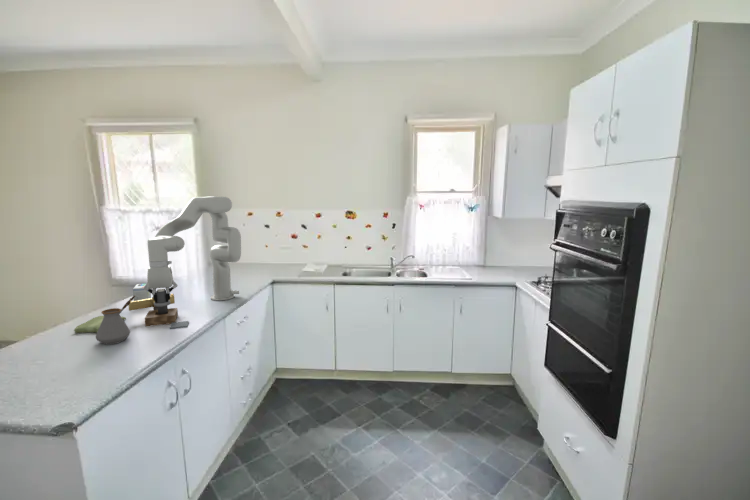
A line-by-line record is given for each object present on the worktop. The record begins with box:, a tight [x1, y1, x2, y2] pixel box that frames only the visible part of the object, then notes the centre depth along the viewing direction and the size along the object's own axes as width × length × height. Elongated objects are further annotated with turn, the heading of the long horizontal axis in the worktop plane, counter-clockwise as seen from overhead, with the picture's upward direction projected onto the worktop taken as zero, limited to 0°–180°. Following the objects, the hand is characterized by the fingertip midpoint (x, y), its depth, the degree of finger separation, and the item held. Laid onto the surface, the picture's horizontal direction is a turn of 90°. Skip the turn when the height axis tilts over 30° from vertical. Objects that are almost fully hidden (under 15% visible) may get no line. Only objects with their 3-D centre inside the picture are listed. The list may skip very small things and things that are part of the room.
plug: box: [154, 288, 172, 314], centre depth 166 cm, size 7×7×12 cm
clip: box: [127, 293, 176, 312], centre depth 170 cm, size 3×19×5 cm, turn 133°
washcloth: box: [73, 315, 127, 334], centre depth 159 cm, size 13×18×3 cm
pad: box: [169, 320, 189, 330], centre depth 162 cm, size 7×7×1 cm
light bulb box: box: [132, 282, 152, 301], centre depth 190 cm, size 11×7×11 cm, turn 25°
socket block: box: [144, 307, 179, 327], centre depth 168 cm, size 12×14×5 cm
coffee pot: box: [95, 295, 138, 345], centre depth 147 cm, size 21×12×15 cm, turn 2°
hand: (162, 301), depth 166 cm, fingers closed on plug, 4 cm apart
